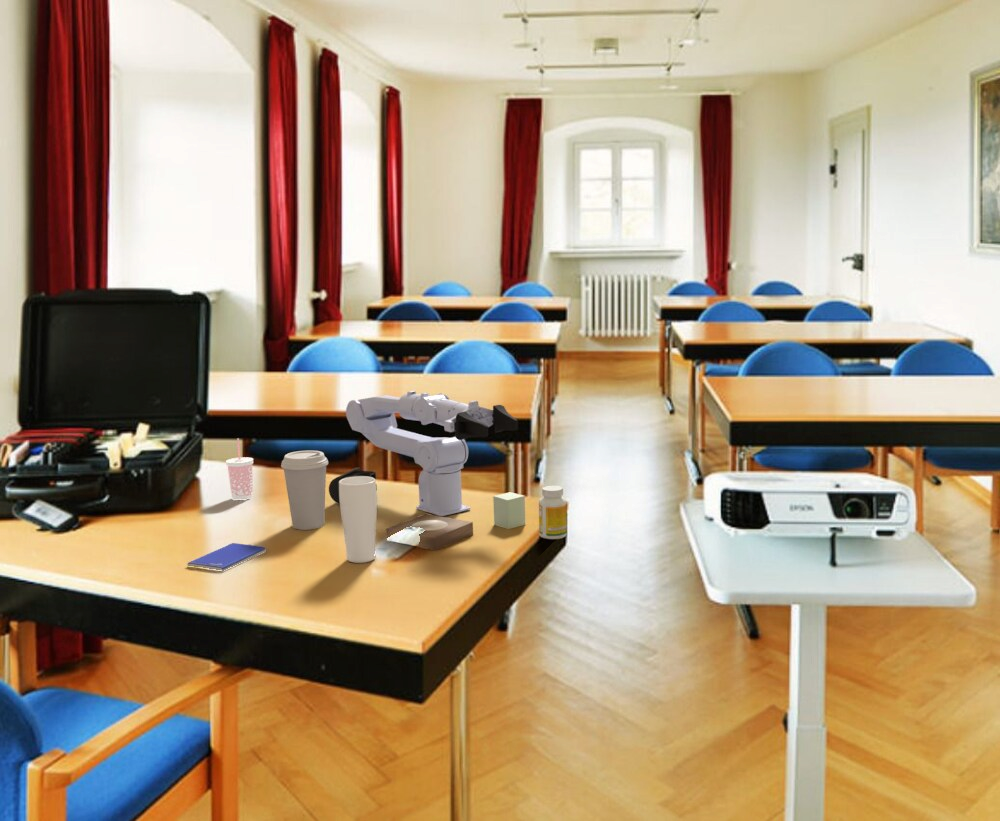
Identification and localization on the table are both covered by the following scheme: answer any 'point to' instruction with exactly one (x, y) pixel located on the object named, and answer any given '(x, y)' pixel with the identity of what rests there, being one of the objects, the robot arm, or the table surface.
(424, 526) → the plinth
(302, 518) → the coffee cup
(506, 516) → the block
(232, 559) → the blue notebook
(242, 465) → the beverage cup
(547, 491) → the supplement bottle
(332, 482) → the end cap
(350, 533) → the drinking glass
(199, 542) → the table surface
